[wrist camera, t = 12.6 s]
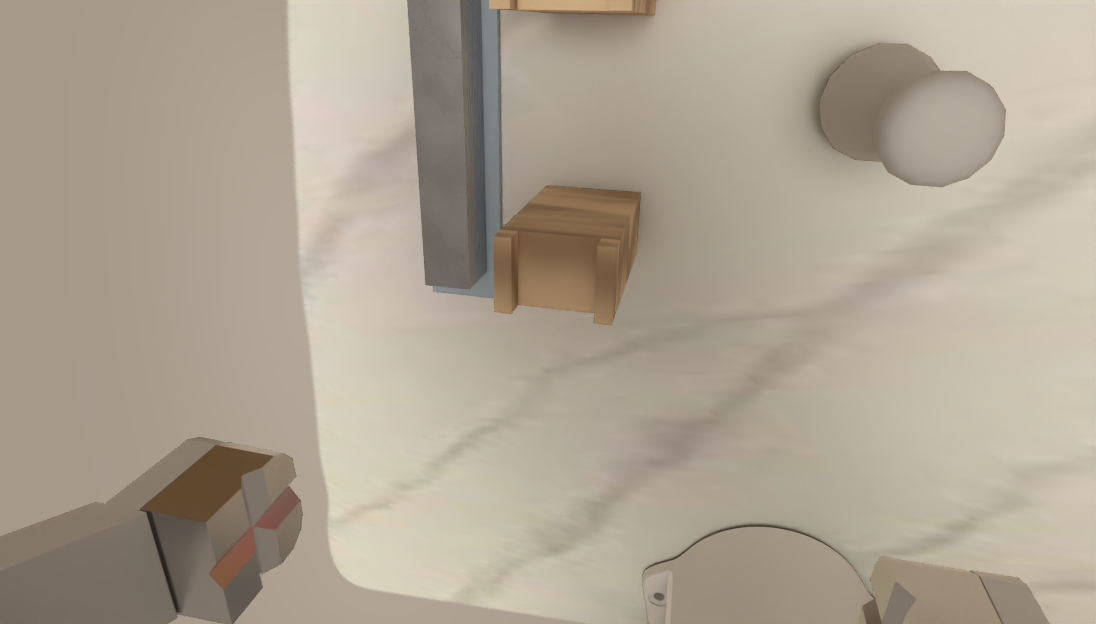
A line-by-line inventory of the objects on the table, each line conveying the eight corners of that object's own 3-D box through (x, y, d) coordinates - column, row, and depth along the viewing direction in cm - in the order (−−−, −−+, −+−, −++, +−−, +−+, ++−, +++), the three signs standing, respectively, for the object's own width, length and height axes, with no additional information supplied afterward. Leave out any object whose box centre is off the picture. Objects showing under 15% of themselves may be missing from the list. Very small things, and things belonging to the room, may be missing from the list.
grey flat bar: (503, 296, 45) (500, 298, 45) (435, 288, 46) (433, 291, 46) (497, -153, 35) (495, -156, 34) (410, -150, 36) (406, -152, 35)
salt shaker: (829, 168, 37) (881, 233, 26) (799, 71, 35) (840, 93, 24) (941, 128, 35) (1054, 178, 23) (915, 22, 33) (1022, 20, 22)
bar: (487, 271, 44) (469, 289, 41) (445, 266, 45) (425, 284, 42) (478, -109, 35) (455, -122, 32) (426, -108, 36) (399, -121, 33)
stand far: (636, 253, 42) (611, 325, 32) (545, 245, 43) (494, 311, 33) (640, 192, 40) (616, 247, 30) (546, 185, 41) (493, 236, 31)
